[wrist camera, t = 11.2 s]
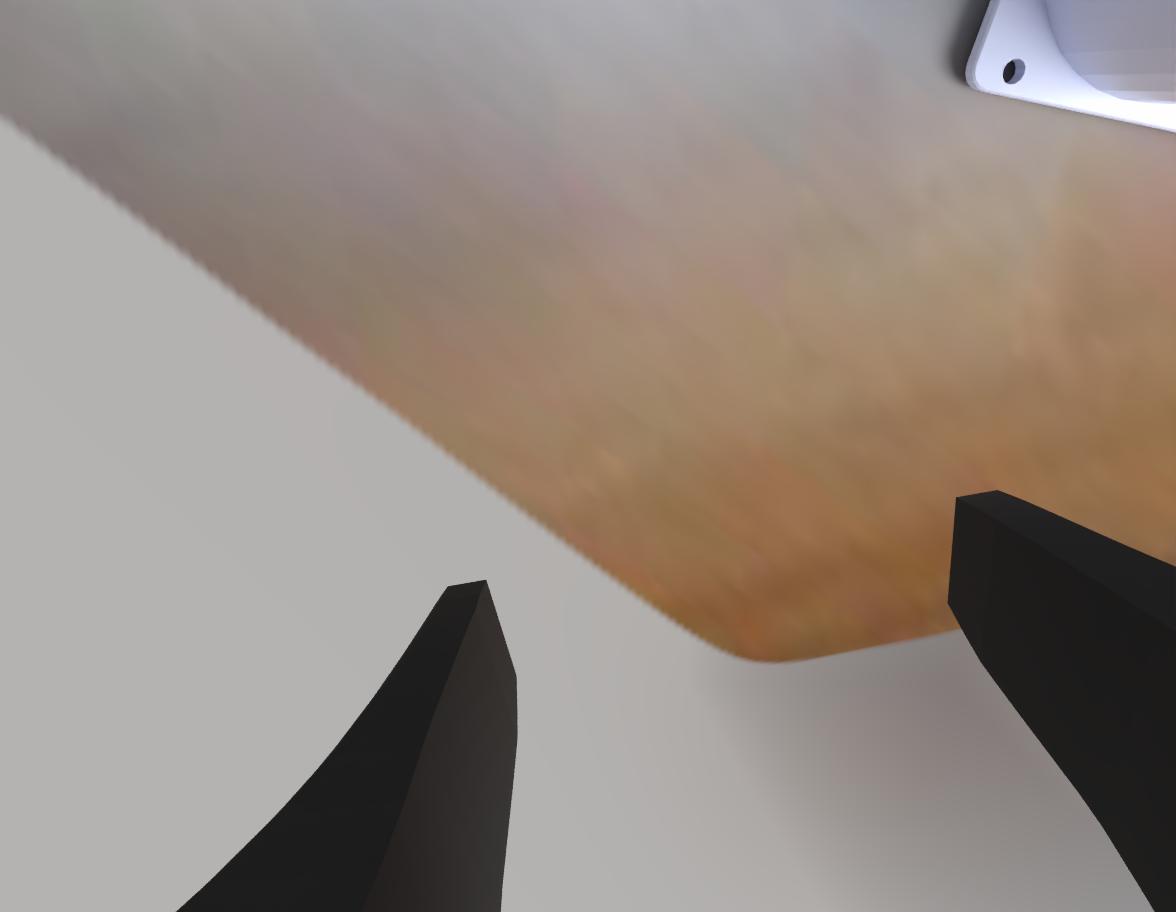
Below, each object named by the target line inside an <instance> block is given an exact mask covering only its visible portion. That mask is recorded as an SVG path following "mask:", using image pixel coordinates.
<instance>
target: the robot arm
mask: <svg viewBox="0 0 1176 912" xmlns="http://www.w3.org/2000/svg"><path fill="white" fill-rule="evenodd" d="M1011 60H1012V61H1013V62H1014V64H1015V67H1016V69H1015V74H1014V76H1013V77H1012V79H1011V80H1010V81H1009V82H1007V83H1006V82H1004V79H1003V70H1004V68H1005V66H1006V65H1007V63H1008V62H1010V61H1011ZM965 75H966V81H967V83H968V84H969V86H970V87H971V88H972V89H974V90H976V91H980V92H985V93H989V94H994V95H999V96H1004V97H1008V98H1013V99H1018V100H1023V101H1027V102H1032V103H1037V104H1042V105H1047V106H1051V107H1056V108H1061V109H1066V110H1070V111H1075V112H1080V113H1085V114H1089V115H1094V116H1099V117H1104V118H1108V119H1113V120H1118V121H1123V122H1127V123H1132V124H1137V125H1142V126H1146V127H1151V128H1156V129H1161V130H1165V131H1170V132H1175V133H1176V0H990V3H989V6H988V8H987V11H986V14H985V16H984V19H983V22H982V25H981V27H980V30H979V33H978V35H977V38H976V41H975V44H974V46H973V49H972V52H971V54H970V57H969V60H968V62H967V67H966V72H965ZM948 604H949V606H950V608H951V610H952V612H953V614H954V616H955V617H956V619H957V621H958V623H959V625H960V627H961V629H962V630H963V632H964V634H965V636H966V638H967V639H968V641H969V643H970V644H971V646H972V648H973V649H974V651H975V653H976V655H977V656H978V658H979V660H980V662H981V663H982V664H983V666H984V667H985V668H986V670H987V671H988V673H989V674H990V675H991V677H992V678H993V679H994V681H995V682H996V684H997V685H998V686H999V688H1000V689H1001V690H1002V692H1003V693H1004V694H1005V696H1006V697H1007V698H1008V700H1009V701H1010V702H1011V704H1012V705H1013V707H1014V708H1015V709H1016V711H1017V712H1018V713H1019V714H1020V716H1021V717H1022V718H1023V720H1024V721H1025V722H1026V724H1027V725H1028V726H1029V728H1030V729H1031V730H1032V732H1033V733H1034V734H1035V736H1036V737H1037V738H1038V740H1039V741H1040V742H1041V744H1042V745H1043V746H1044V748H1045V749H1046V750H1047V752H1048V753H1049V754H1050V756H1051V757H1052V758H1053V759H1054V761H1055V762H1056V764H1057V765H1058V766H1059V768H1060V769H1061V770H1062V771H1063V773H1064V774H1065V775H1066V777H1067V778H1068V779H1069V781H1070V782H1071V783H1072V785H1073V786H1074V787H1075V788H1076V790H1077V791H1078V793H1079V794H1080V795H1081V797H1082V798H1083V800H1084V801H1085V803H1086V804H1087V805H1088V807H1089V808H1090V810H1091V811H1092V813H1093V814H1094V815H1095V817H1096V818H1097V820H1098V821H1099V822H1100V824H1101V825H1102V827H1103V828H1104V830H1105V832H1106V833H1107V835H1108V836H1109V838H1110V840H1111V841H1112V843H1113V844H1114V846H1115V848H1116V849H1117V851H1118V853H1119V854H1120V856H1121V857H1122V859H1123V861H1124V862H1125V864H1126V866H1127V867H1128V869H1129V870H1130V872H1131V874H1132V875H1133V877H1134V879H1135V880H1136V882H1137V883H1138V885H1139V887H1140V888H1141V890H1142V892H1143V893H1144V895H1145V896H1146V898H1147V900H1148V901H1149V903H1150V905H1151V906H1152V908H1153V910H1154V911H1155V912H1176V567H1175V566H1173V565H1171V564H1168V563H1166V562H1163V561H1161V560H1159V559H1156V558H1154V557H1152V556H1149V555H1147V554H1144V553H1142V552H1140V551H1138V550H1135V549H1133V548H1131V547H1128V546H1126V545H1124V544H1121V543H1119V542H1117V541H1115V540H1112V539H1110V538H1108V537H1106V536H1103V535H1101V534H1099V533H1097V532H1094V531H1092V530H1090V529H1088V528H1085V527H1083V526H1081V525H1079V524H1076V523H1074V522H1072V521H1070V520H1067V519H1065V518H1063V517H1061V516H1058V515H1056V514H1054V513H1052V512H1049V511H1047V510H1045V509H1043V508H1040V507H1038V506H1036V505H1033V504H1031V503H1029V502H1026V501H1024V500H1022V499H1019V498H1017V497H1014V496H1012V495H1009V494H1006V493H1004V492H1001V491H998V490H996V491H990V492H984V493H978V494H973V495H967V496H961V497H956V505H955V518H954V530H953V543H952V555H951V568H950V580H949V593H948ZM516 748H517V679H516V673H515V670H514V666H513V663H512V660H511V657H510V654H509V651H508V647H507V644H506V641H505V638H504V635H503V632H502V628H501V625H500V622H499V619H498V616H497V613H496V609H495V606H494V603H493V600H492V597H491V594H490V590H489V587H488V584H487V581H486V580H482V581H476V582H470V583H465V584H459V585H453V586H448V587H447V588H446V590H445V591H444V593H443V594H442V595H441V597H440V598H439V600H438V601H437V603H436V604H435V606H434V607H433V609H432V611H431V612H430V614H429V616H428V617H427V618H426V620H425V622H424V623H423V625H422V626H421V628H420V629H419V631H418V632H417V634H416V635H415V637H414V639H413V640H412V642H411V643H410V645H409V646H408V648H407V649H406V651H405V652H404V654H403V655H402V657H401V658H400V660H399V661H398V663H397V664H396V665H395V667H394V668H393V670H392V671H391V673H390V674H389V676H388V677H387V678H386V680H385V681H384V683H383V684H382V686H381V687H380V689H379V690H378V691H377V693H376V694H375V696H374V697H373V698H372V700H371V701H370V703H369V704H368V705H367V707H366V708H365V709H364V711H363V712H362V713H361V714H360V716H359V717H358V718H357V720H356V721H355V722H354V724H353V725H352V726H351V728H350V729H349V730H348V731H347V733H346V734H345V735H344V737H343V738H342V739H341V741H340V742H339V743H338V745H337V746H336V747H335V749H334V750H333V751H332V752H331V753H330V754H329V756H328V757H327V758H326V759H325V761H324V762H323V763H322V764H321V765H320V767H319V768H318V769H317V770H316V771H315V772H314V774H313V775H312V776H311V777H310V778H309V779H308V780H307V781H306V783H305V784H304V785H303V786H302V787H301V788H300V789H299V791H298V792H297V793H296V794H295V795H294V796H293V797H292V798H291V799H290V800H289V801H288V803H287V804H286V805H285V806H284V807H283V808H282V809H281V810H280V811H279V812H278V813H277V815H275V817H274V818H273V819H272V820H271V821H270V822H269V823H268V824H267V825H266V826H265V827H264V828H263V829H262V830H261V831H260V832H259V833H258V834H257V835H256V836H255V837H254V838H253V839H252V840H251V841H250V842H249V843H248V844H247V845H246V846H245V847H244V848H243V849H242V850H241V851H239V853H238V854H236V855H235V856H234V857H233V858H232V859H231V860H230V861H229V862H228V863H227V864H226V865H225V866H224V868H223V869H221V870H220V871H219V872H218V873H217V874H216V876H214V877H213V878H212V879H211V880H210V881H209V882H208V883H207V884H206V885H205V886H204V887H203V888H202V889H201V890H200V891H198V892H197V893H196V894H195V895H194V896H193V897H192V898H191V899H190V900H188V901H187V902H186V903H185V904H184V905H183V906H182V907H181V908H180V909H179V910H177V911H176V912H501V899H502V885H503V874H504V866H505V856H506V845H507V837H508V827H509V818H510V808H511V798H512V789H513V779H514V769H515V758H516Z"/></svg>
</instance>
